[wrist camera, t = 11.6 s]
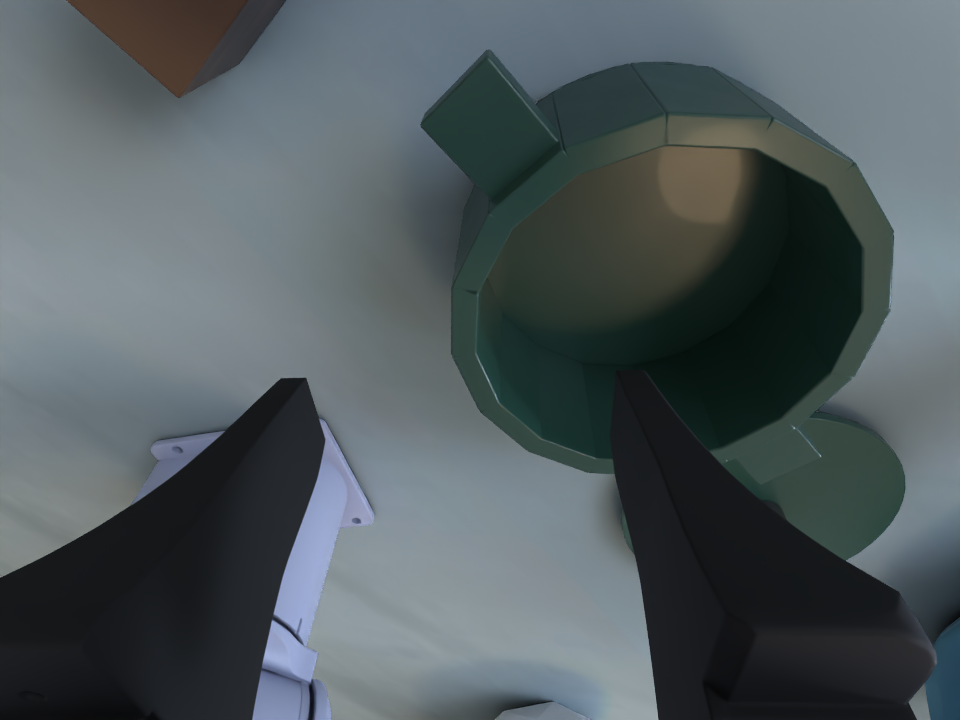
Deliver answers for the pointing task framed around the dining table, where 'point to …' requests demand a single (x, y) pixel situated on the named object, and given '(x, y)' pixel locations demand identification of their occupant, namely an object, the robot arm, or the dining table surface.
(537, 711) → the geometric sphere
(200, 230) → the dining table surface
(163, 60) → the block
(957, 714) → the casserole dish
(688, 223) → the pot
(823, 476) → the lid
